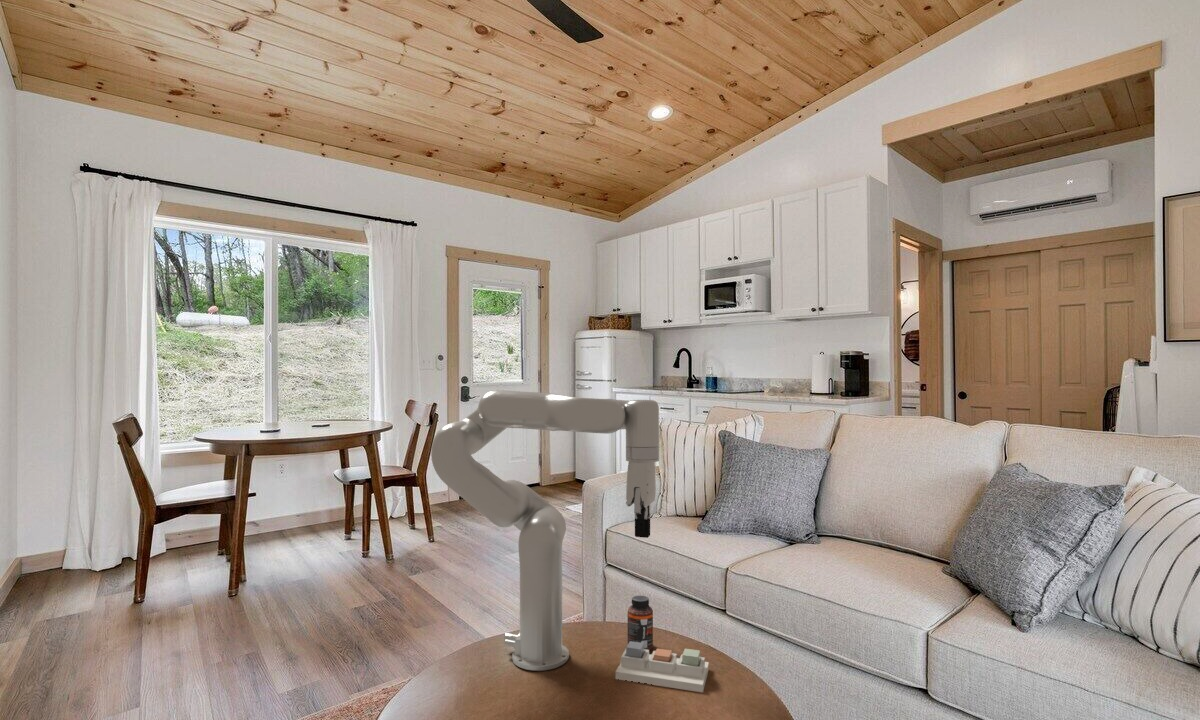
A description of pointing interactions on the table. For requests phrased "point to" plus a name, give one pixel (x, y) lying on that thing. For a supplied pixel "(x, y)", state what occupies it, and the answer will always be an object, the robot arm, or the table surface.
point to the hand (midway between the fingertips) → (642, 536)
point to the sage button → (691, 657)
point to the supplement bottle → (640, 622)
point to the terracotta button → (663, 655)
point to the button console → (663, 672)
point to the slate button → (635, 649)
